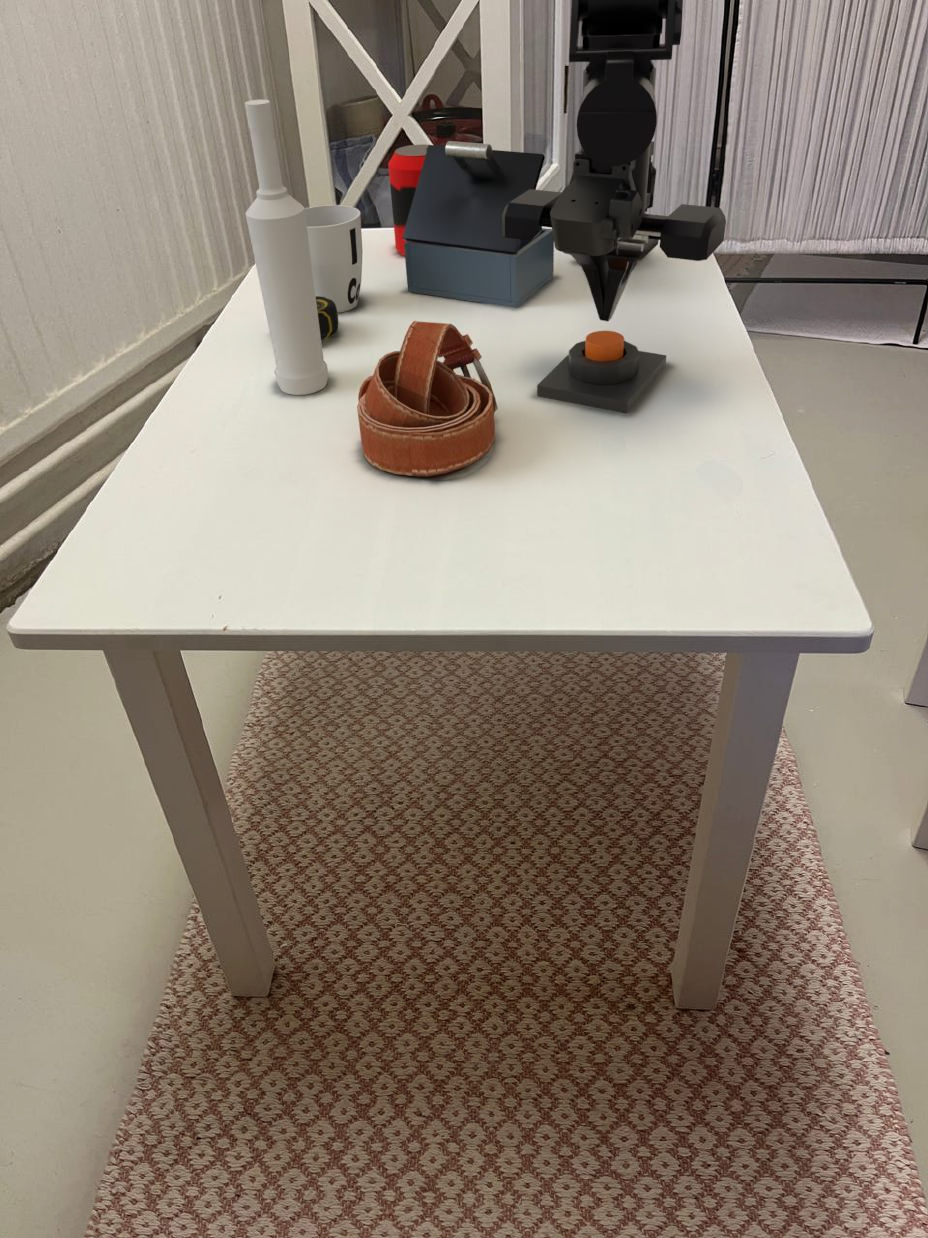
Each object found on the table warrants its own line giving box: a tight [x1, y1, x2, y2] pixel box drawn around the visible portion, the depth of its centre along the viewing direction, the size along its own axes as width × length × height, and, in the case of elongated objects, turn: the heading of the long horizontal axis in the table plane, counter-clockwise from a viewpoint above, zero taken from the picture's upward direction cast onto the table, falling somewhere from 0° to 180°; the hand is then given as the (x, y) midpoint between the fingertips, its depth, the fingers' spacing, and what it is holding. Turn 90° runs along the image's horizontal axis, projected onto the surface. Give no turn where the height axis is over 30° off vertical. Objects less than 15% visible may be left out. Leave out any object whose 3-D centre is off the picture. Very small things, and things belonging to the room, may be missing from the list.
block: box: [536, 339, 667, 414], centre depth 89 cm, size 11×9×3 cm
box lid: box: [402, 140, 546, 255], centre depth 102 cm, size 11×14×5 cm
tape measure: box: [316, 296, 340, 342], centre depth 100 cm, size 7×7×4 cm
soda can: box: [387, 144, 429, 257], centre depth 119 cm, size 8×8×12 cm
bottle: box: [244, 99, 329, 396], centre depth 84 cm, size 5×5×25 cm
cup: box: [304, 204, 363, 314], centre depth 105 cm, size 8×8×10 cm
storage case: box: [404, 227, 555, 309], centre depth 110 cm, size 10×14×6 cm
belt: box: [356, 320, 499, 478], centre depth 79 cm, size 14×13×10 cm
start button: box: [585, 330, 625, 362], centre depth 88 cm, size 4×4×2 cm
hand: (605, 319), depth 86 cm, fingers closed
